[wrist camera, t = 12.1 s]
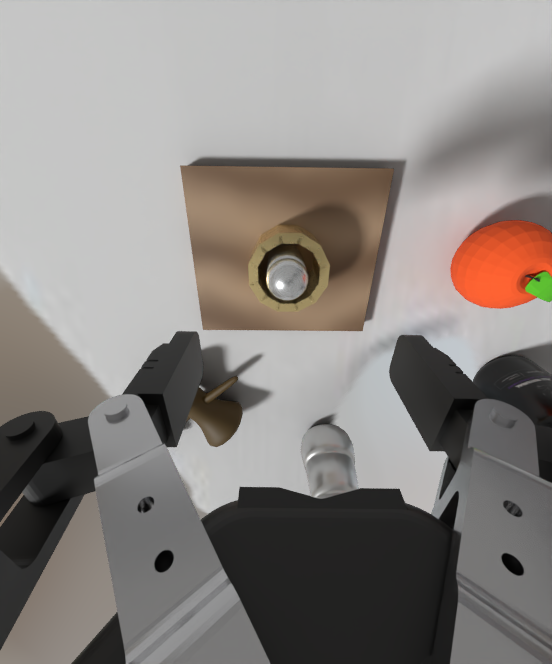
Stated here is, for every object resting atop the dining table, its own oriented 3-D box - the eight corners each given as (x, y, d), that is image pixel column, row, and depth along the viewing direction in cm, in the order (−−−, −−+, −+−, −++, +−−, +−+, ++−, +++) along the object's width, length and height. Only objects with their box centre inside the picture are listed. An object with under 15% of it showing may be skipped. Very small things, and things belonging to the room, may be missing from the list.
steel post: (267, 242, 23) (265, 264, 17) (303, 243, 23) (312, 264, 17) (267, 277, 24) (265, 306, 19) (301, 277, 24) (309, 307, 19)
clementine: (537, 248, 25) (625, 271, 19) (475, 307, 28) (532, 344, 22) (480, 198, 23) (557, 205, 17) (419, 267, 26) (465, 296, 19)
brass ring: (251, 224, 22) (246, 232, 19) (324, 224, 22) (333, 233, 19) (253, 293, 25) (250, 311, 22) (318, 293, 25) (325, 311, 22)
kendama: (109, 416, 36) (208, 332, 29) (168, 450, 40) (268, 383, 33) (81, 458, 31) (194, 368, 24) (152, 492, 35) (267, 423, 28)
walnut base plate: (185, 166, 21) (180, 165, 20) (386, 169, 22) (394, 168, 20) (206, 322, 28) (203, 329, 27) (358, 323, 29) (362, 330, 27)
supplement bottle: (509, 343, 30) (635, 431, 19) (542, 371, 32) (673, 465, 21) (457, 382, 33) (542, 478, 22) (490, 406, 35) (584, 504, 24)
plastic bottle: (344, 449, 39) (401, 672, 21) (296, 448, 38) (315, 671, 21) (352, 417, 35) (427, 648, 18) (300, 416, 35) (326, 647, 18)
